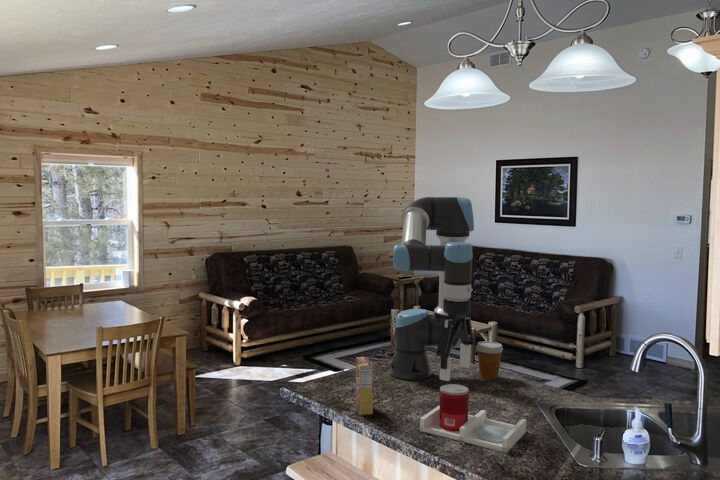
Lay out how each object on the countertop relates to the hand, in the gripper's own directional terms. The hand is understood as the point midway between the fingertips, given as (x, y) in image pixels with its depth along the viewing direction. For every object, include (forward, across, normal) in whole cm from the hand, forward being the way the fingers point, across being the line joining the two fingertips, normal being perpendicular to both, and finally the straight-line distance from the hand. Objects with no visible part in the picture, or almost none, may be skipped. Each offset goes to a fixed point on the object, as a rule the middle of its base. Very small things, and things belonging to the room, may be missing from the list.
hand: (454, 373), depth 170 cm
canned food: (+15, -1, 0) cm, 15 cm away
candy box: (+17, -2, +29) cm, 33 cm away
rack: (+16, -1, -6) cm, 17 cm away
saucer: (+15, -1, -12) cm, 19 cm away
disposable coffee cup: (+17, +51, +9) cm, 55 cm away
